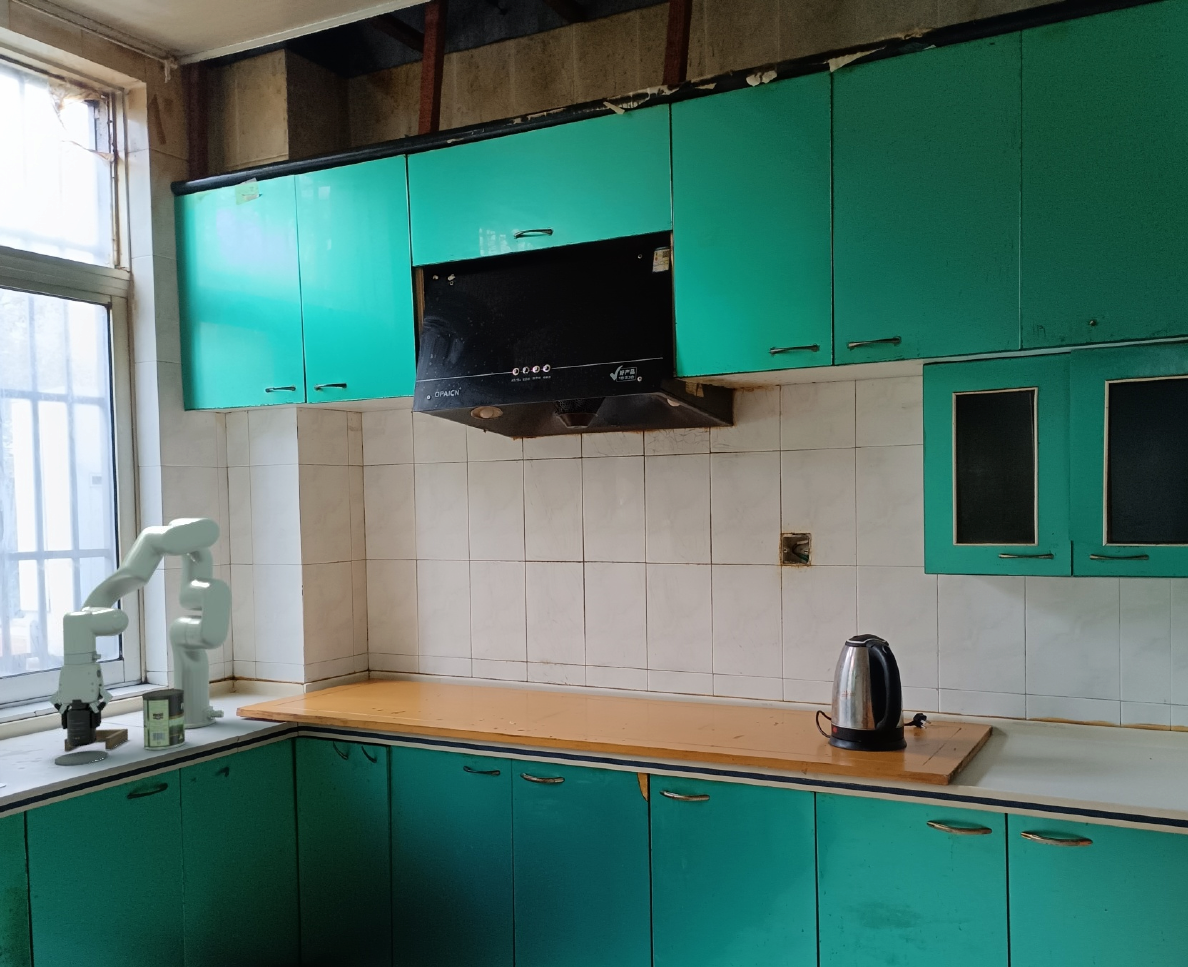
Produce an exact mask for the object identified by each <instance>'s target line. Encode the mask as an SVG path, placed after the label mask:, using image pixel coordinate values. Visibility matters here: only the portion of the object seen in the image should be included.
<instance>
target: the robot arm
mask: <svg viewBox="0 0 1188 967" xmlns="http://www.w3.org/2000/svg"><path fill="white" fill-rule="evenodd" d="M220 535H221V530H220V526H219V523H218V522H216V521H215V520H214V519H212V518H209V517H180V518H175V519H172V520H171V521H170V522H169V523H168V524H167V525H156V526H155V525H154V526H153V525H152V526H149V527H146V528H144V529H143V530H142V531H141V532H140V533H139V535H138V536H137V538H136V539H135V541H134V543H133V545H132V546H131V548H130V549H129V551H128V552H127V554H126V556H125V557H124V559H123V560H122V563H120V565H119V567H118V568H117V569H116V570H115V571H114V572H113V573H111V574H110V575H109V576H108V577H106V578H105V580H103V581H102V582H101V583H100V584H98V585H97V586H96V587H95V588H94V589H93V590H92V591H91V592H90V594H89V595H88V596H87V598H86V600H85V601H84V603H82V606H81V608H80V609H79V610H78V611H71V612H67V613H65V614H64V615H63V618H62V629H63V630H62V634H63V636H62V637H63V638H62V639H63V640H62V641H63V643H62V644H63V665H61V667H60V671H59V672H60V673H59V678H58V686H57V687H58V688H57V689H58V690H56V692H54V693H53V694H52V695H51V696H50V697H49V699H48V701H49V702H50V703H51V705H53V708H55V709H56V711H58V713H59V715H60V718H61V721H60V722H61V726H62V729H63V730H67V716H66V715H67V711H68V710H69V709H71V706H70V704H71V703H72V700H78V699H80V700H82V703H89V704H90V706H91V707H92V709H93V711H94V713H92V728H96V729H97V728H99V727H100V726H101V724H102V711H103V710H104V709H105V708H106V707H107V705H109V703H110V702H111V701H112V699H113V698H114V696H113V695H112V694H111V693H110V692H109V691H107V690H106V689H105V685H104V684H105V683H104V676H103V671H102V667H101V663H100V662H97V661H98V660H101V659H102V654H101V653H98V652H97V639H96V638H97V637H98V638H99V637H116V636H119V635H121V634H122V633H124V632H125V631H126V630H127V629H128V626H129V616H128V615H127V613H126V612H125V611H124V610H123V609H120V608H117V607H113V606H114V605H115V603H117V602H118V601H119V600H120V599H122V598H123V597H125V596H127V595H129V594H130V593H133V592H135V591H139V589H142V588H143V587H144V586H146V585H148V583H149V582H150V581H151V579H152V577H153V575H154V574H155V571H156V569H157V568H158V567H159V565H160V562H161V561H162V560H163V558H164V557H178V556H180V557H181V562H182V564H181V575H180V576H181V577H180V583H179V584H180V585H179V594H178V601H179V604H180V606H181V607H182V608H183V609H185V610H188V611H196V612H198V611H199V612H201V615H197V614H194V615H193V614H191V615H189V614H188V615H182V616H179V617H177V618H176V619H175V620H173V621H172V623H171V625H170V627H169V631H168V632H169V633H168V635H169V642H170V646H171V651H172V657H173V658H172V659H173V661H172V662H173V689H181V690H184V729H196V728H203V727H206V726H211V725H213V724H215V723H216V721H217V719H222V718H224V717H225V712H224V711H223V710H215V709H214V706H213V705H210V704H211V703H210V662H209V657H208V654H207V650H209V651H210V650H211V651H212V650H217V649H219V648H221V647H222V646H223V645H224V643H225V642H226V640H227V638H228V634H229V629H230V619H231V611H232V601H233V600H232V599H233V596H232V594H233V593H232V591H231V588H230V586H229V584H228V583H227V582H226V581H225V580H223V579H220V578H216V577H215V578H213V575H214V574H213V573H214V559H213V555H212V552H211V549H210V547H211V546H214V545H215V544H216V543H217V542H218V540H219V538H220ZM102 699H103V700H102ZM101 700H102V701H101Z"/></svg>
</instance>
